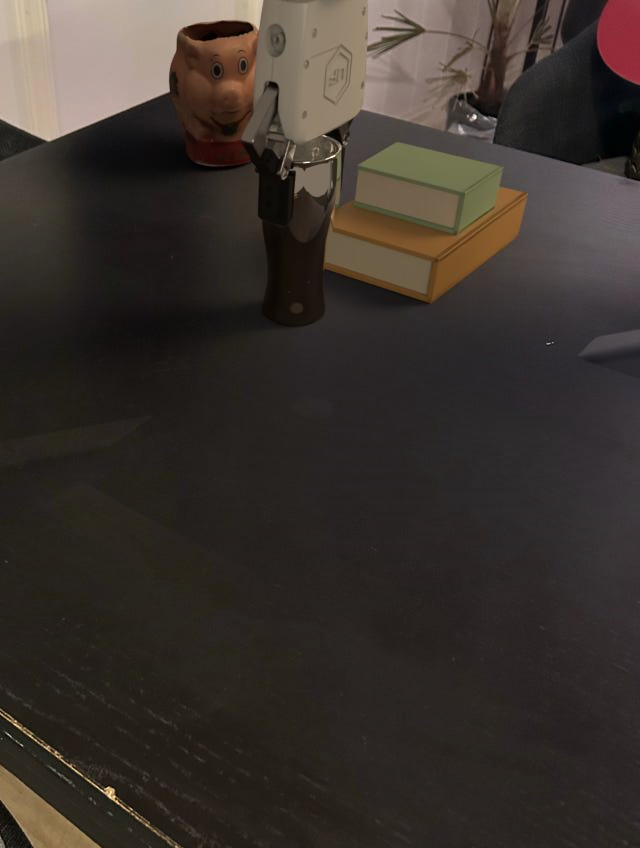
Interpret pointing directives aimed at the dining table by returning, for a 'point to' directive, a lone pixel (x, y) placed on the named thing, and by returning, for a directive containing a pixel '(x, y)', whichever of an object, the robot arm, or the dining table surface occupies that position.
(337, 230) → the big book
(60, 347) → the dining table surface
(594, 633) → the dining table surface
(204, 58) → the decorative planter
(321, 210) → the beer glass
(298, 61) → the robot arm
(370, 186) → the small book
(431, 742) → the dining table surface
